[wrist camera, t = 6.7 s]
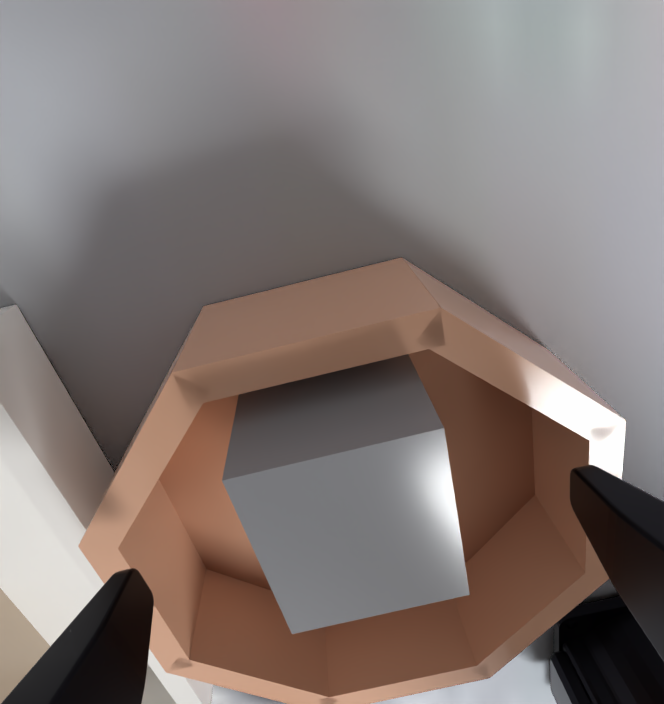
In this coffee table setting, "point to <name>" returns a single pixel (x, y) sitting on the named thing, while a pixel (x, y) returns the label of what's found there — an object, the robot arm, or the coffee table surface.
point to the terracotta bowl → (466, 470)
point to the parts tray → (54, 501)
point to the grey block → (347, 494)
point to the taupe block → (16, 646)
